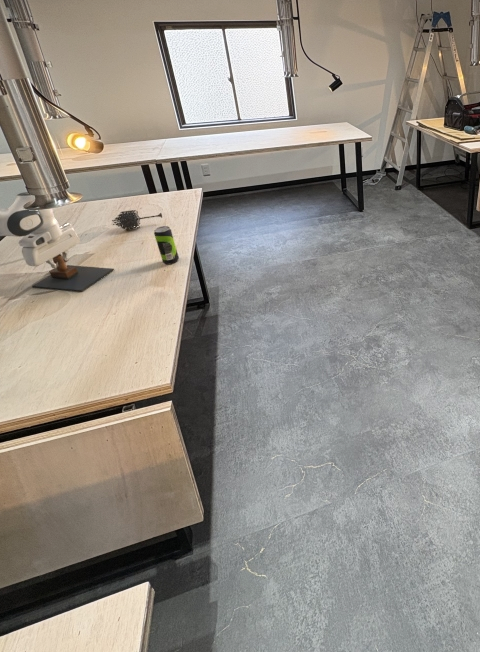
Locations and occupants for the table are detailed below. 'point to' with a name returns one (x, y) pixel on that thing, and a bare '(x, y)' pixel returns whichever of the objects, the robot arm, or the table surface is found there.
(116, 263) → the table surface
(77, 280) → the mat
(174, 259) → the beverage can
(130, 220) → the massage brush
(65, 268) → the wooden rubber stamp
